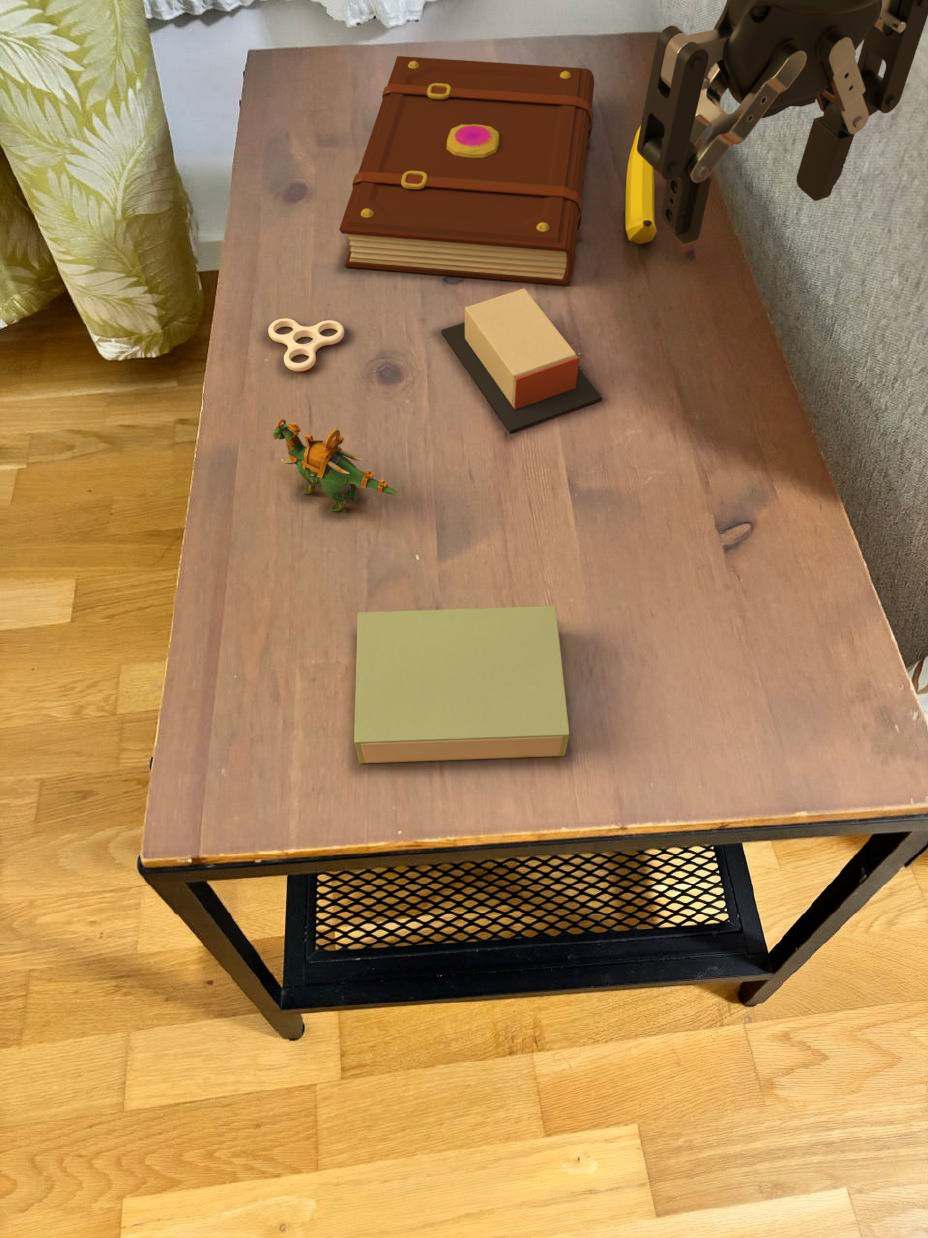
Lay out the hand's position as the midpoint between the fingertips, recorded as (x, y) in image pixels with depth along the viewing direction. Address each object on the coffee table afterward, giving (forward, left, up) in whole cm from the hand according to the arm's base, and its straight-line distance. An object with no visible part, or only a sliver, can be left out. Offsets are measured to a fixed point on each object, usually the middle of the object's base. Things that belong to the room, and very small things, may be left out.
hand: (747, 212), depth 51 cm
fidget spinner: (+30, -21, -27) cm, 45 cm away
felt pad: (+10, -18, -27) cm, 34 cm away
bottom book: (+17, +15, -27) cm, 35 cm away
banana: (-3, -38, -27) cm, 47 cm away
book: (+13, -46, -27) cm, 55 cm away
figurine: (+26, -3, -27) cm, 37 cm away
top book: (+10, -18, -27) cm, 34 cm away
